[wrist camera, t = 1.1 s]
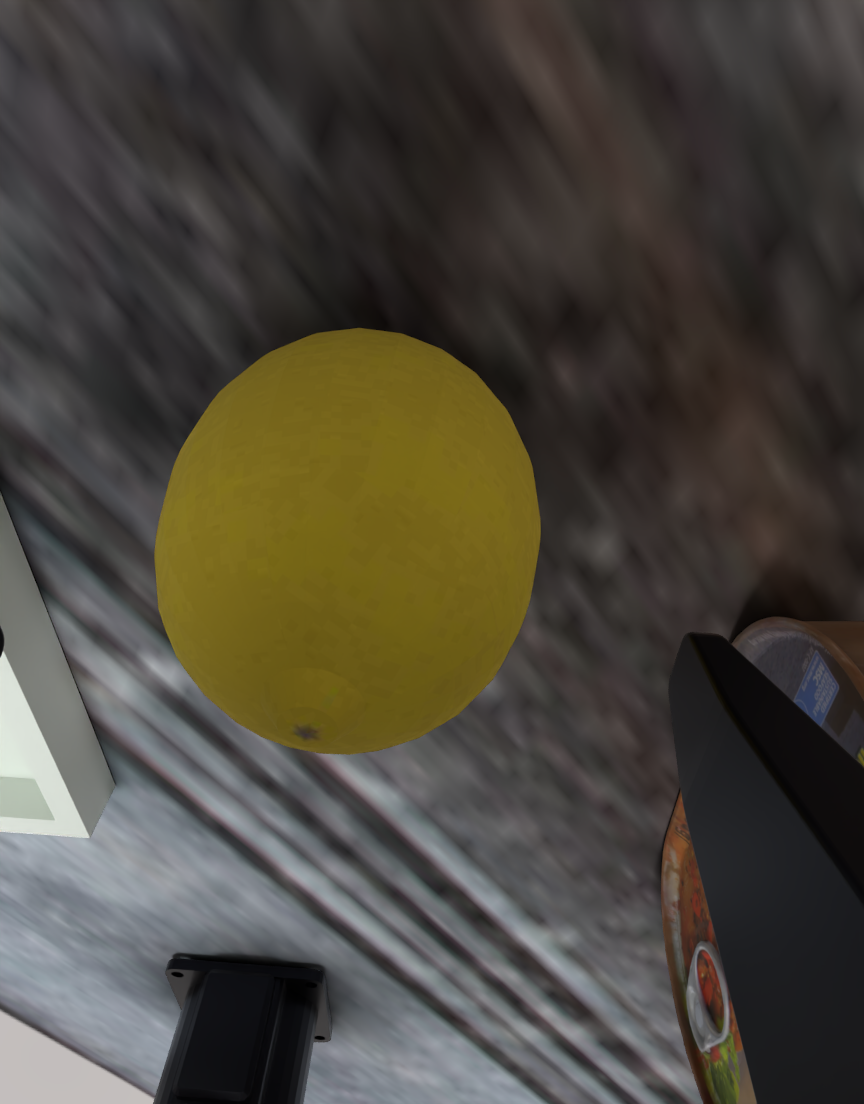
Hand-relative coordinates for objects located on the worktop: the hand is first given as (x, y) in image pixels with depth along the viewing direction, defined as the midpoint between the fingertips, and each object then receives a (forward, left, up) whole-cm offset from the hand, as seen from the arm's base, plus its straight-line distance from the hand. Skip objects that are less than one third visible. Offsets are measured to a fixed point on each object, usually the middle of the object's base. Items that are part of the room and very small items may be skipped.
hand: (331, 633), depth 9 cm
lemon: (0, 0, -6) cm, 7 cm away
